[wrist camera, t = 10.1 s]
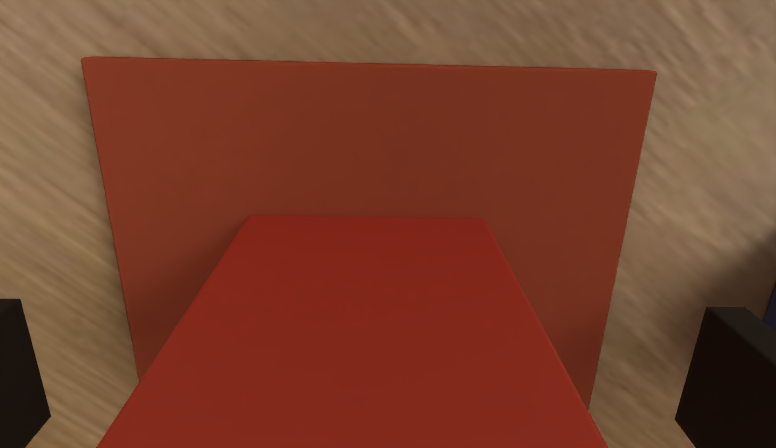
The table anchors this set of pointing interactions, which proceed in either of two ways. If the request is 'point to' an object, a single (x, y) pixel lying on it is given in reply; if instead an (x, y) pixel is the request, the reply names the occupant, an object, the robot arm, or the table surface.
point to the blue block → (771, 312)
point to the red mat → (369, 170)
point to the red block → (357, 346)
